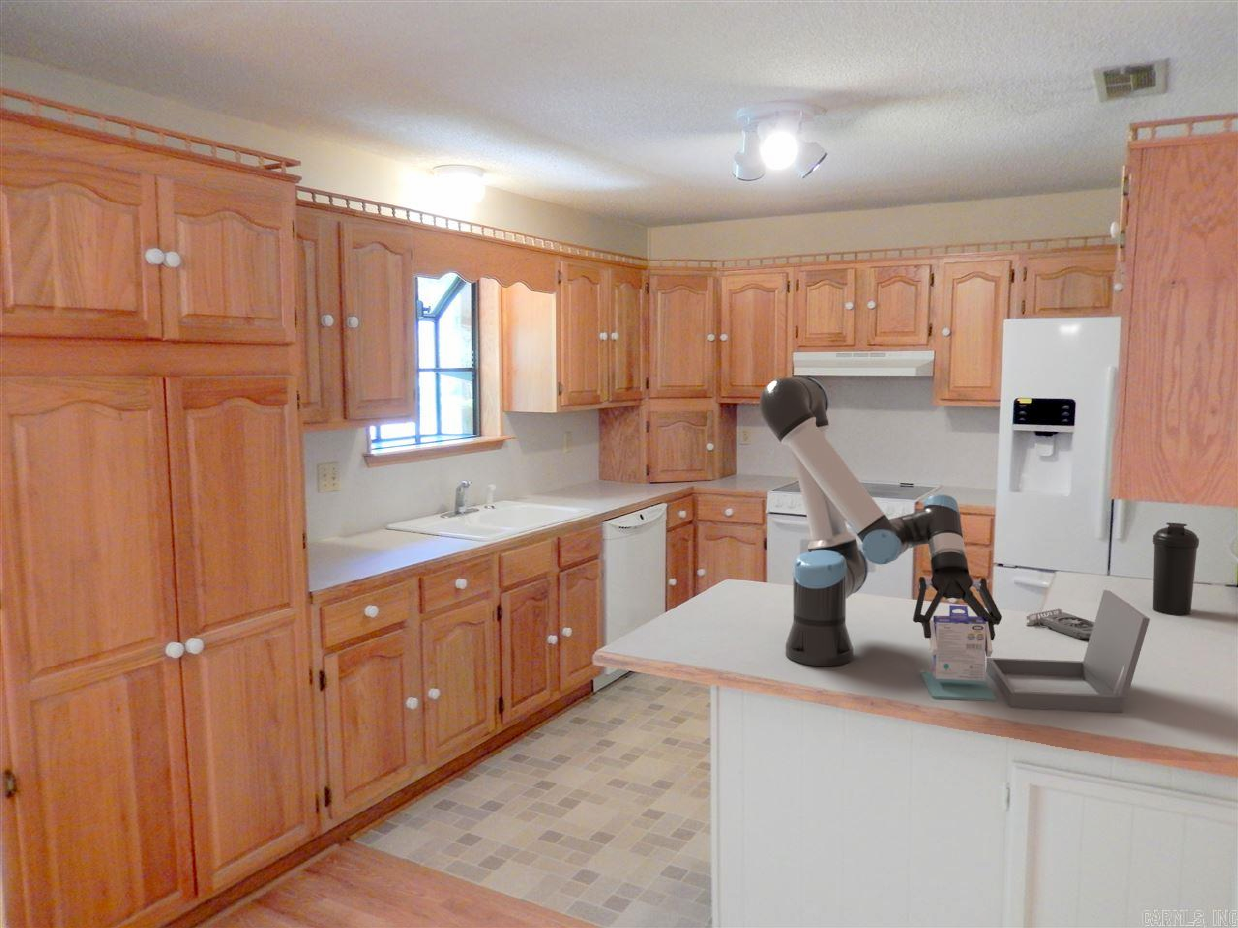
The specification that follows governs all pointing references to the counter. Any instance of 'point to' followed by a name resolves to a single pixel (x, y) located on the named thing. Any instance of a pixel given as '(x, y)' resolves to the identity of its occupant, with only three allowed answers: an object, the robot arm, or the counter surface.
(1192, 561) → the water bottle
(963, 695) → the teal mat
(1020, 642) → the counter surface
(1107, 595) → the equipment case
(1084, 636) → the graphics card
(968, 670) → the ink cartridge box
